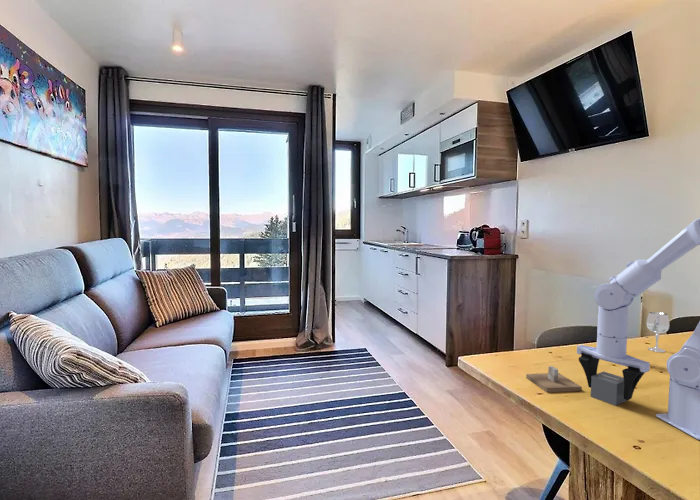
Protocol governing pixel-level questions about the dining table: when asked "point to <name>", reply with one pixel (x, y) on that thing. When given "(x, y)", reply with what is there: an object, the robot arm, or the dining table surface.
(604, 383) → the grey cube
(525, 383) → the dining table surface
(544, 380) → the base
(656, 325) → the wineglass
